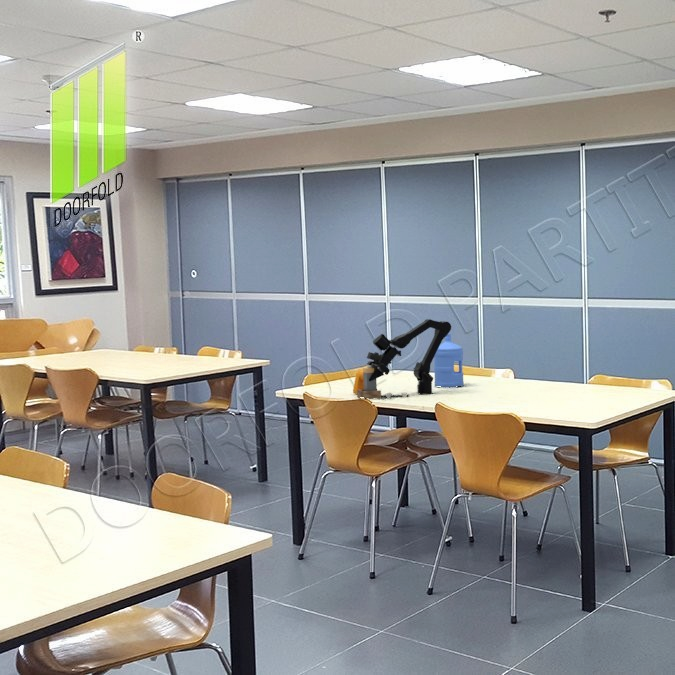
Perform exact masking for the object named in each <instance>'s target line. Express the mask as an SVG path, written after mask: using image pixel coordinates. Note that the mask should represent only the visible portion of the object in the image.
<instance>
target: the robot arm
mask: <svg viewBox="0 0 675 675" xmlns="http://www.w3.org/2000/svg"><path fill="white" fill-rule="evenodd" d="M430 328H431V329H434V335H433V338H432V340H431V342H430V344H429V346H428V348H427V351H426V353H425V354H424V356H423V358H422V360H421V361H420V362H418V361H417V362H416V364H415V367H414V368H413V375H414V378H416V379H417V386H416V388H417V394H419V393H420V394H419V395H429V393H430V395H431V394H434V392H433V381H434V377H433V376H432V375H431V374H430V372H431V365H432V362H433V361H434V356H435V354H436V352H437V350H438V348H439V346H440V345H441V344H442V343H443V340H445V337H446V336H447V335H448V334H450V332H451V331H452V325H451V323H450V322H449V321H442V320H440V321H438V320H433V319H430V318H426V319H425V320H424V321H422V322H421V323H419V324H418V325H416V326H414V327H413V328H412V329H410V330H409V331H407V332H405V333H401V334H399V335H396V336H395V337H394V338H392V339H388V337H387V336H386V335H385V334H383V333H381V334H380V335H378V336H377V337H375V338H374V340H372V343H373V345H374V346H375V347H376V348H377V349H378V350H379V351H381V352H382V351H383V352H382V353H381V354H379V352H376V351H375V352H374V353H373V352H371V351H369V352H368V353H367V356H366V359H368V360H369V359H370V360H369V361H368V362H367V363H366V366H367V365H372V368H374V372H373V373H372V375H371V377H370V378H369V381H372V380H374V379H376V380H377V379H378V378H380V377H383V376H387V375H389V374H390V371H391V370H390V369H389V367H388V366H389V365H391V364H392V361H393V360H394V358H396V356H397V357H398V356H399V357H402V351H401V350H398V349H405V348H406V347H407V346H408V345H409V344H410V342H412V341H413V339H415V338H416V337H418V336H420V335H421V334H422V333H424V332H425V331H427V330H429V329H430Z"/></svg>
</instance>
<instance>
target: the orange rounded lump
mask: <svg viewBox="0 0 675 675" xmlns="http://www.w3.org/2000/svg"><path fill="white" fill-rule="evenodd" d="M353 384H354V385H353V390H352V393H353V394H356V395H357V389H364V378H363V370H358V371H357V372H356V374H355V378H354V383H353Z"/></svg>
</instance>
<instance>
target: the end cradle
mask: <svg viewBox="0 0 675 675" xmlns="http://www.w3.org/2000/svg"><path fill="white" fill-rule="evenodd" d="M356 395H357V398H358V399H360V397H364V398H369V399H368V400H373V398H377V399H382V397H381V395H382V390H378V389H377V391H364V389H357V394H356Z"/></svg>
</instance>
